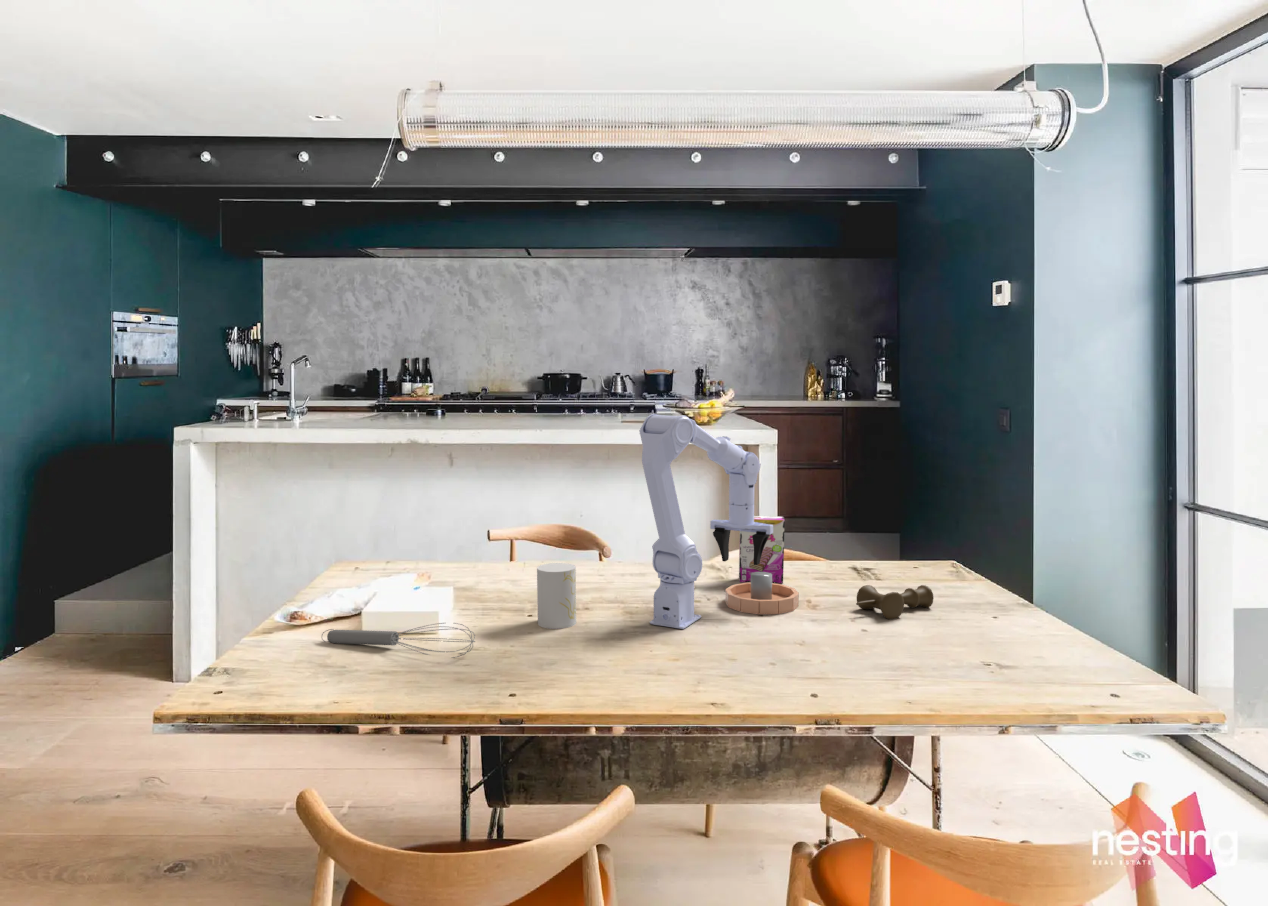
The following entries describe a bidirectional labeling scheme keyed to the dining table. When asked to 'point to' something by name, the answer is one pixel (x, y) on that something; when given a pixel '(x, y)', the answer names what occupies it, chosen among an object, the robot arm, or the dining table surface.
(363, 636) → the kitchen whisk
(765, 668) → the dining table surface
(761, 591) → the grey cylinder
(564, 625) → the white cylinder
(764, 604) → the bowl
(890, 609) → the kendama
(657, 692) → the dining table surface
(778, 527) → the candy bar box
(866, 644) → the dining table surface
